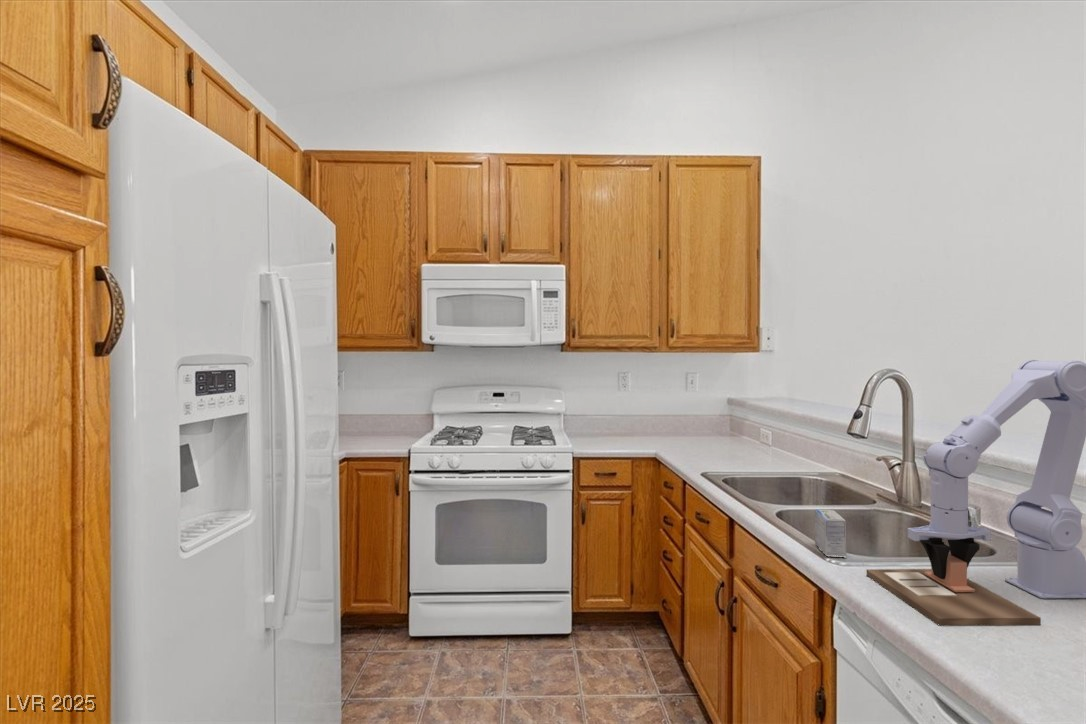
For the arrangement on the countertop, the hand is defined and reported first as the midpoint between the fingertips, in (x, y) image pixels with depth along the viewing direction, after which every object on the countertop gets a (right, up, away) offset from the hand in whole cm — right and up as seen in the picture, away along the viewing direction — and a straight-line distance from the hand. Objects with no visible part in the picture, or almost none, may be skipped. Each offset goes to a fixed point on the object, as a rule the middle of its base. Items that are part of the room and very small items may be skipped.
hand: (948, 576), depth 102 cm
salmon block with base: (0, -1, 0) cm, 1 cm away
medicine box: (-12, -3, +20) cm, 24 cm away
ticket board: (-3, -3, -3) cm, 5 cm away
